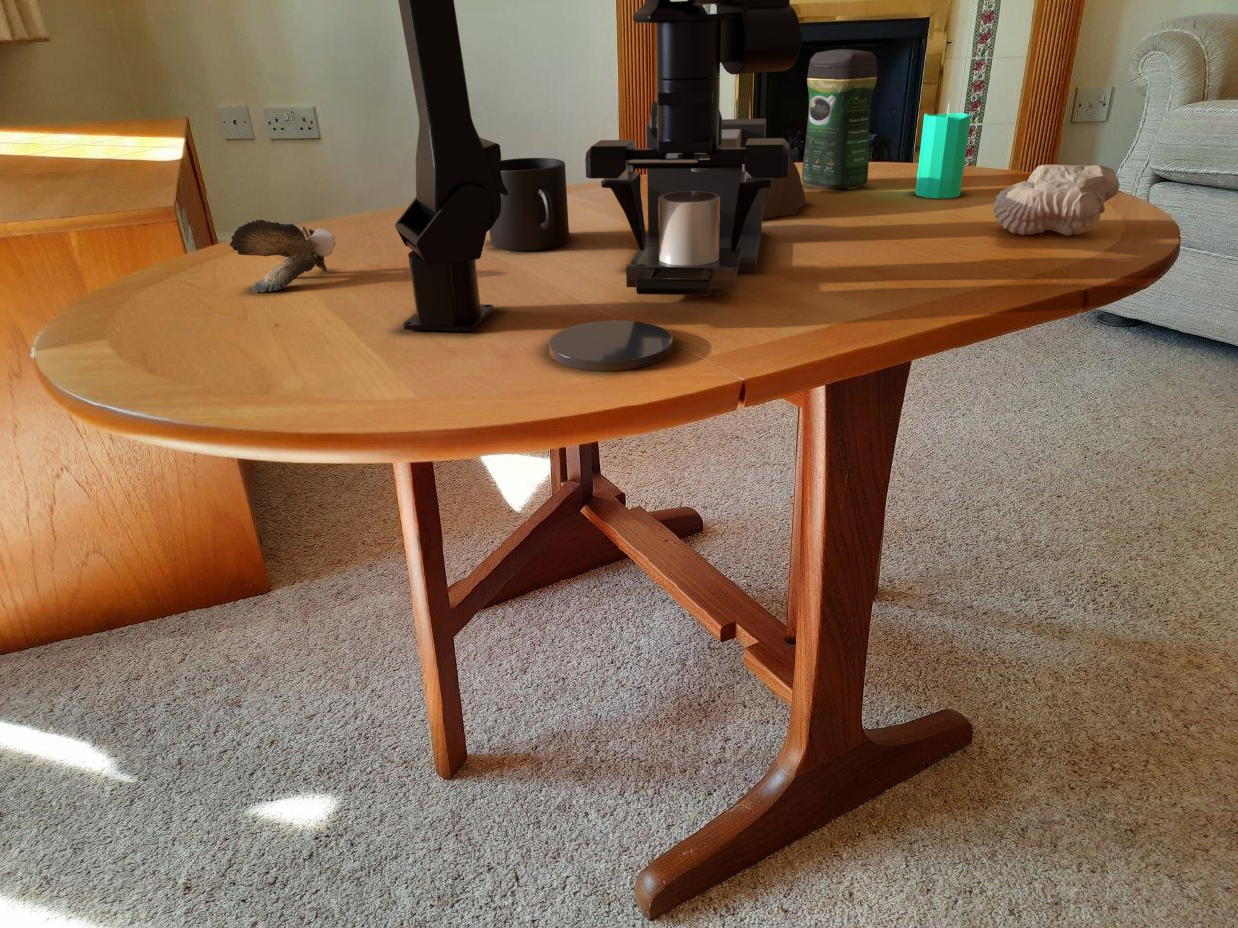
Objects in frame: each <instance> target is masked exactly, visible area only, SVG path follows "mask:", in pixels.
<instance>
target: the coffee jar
mask: <svg viewBox="0 0 1238 928" xmlns="http://www.w3.org/2000/svg"><path fill="white" fill-rule="evenodd" d="M877 65H878V62H877V57H876V56H875V54H874V53H873V51H867V50H858V49H848V48H847V49H846V48H845V49H844V48H842V49H831V50H824V51H823V50H822V51H819V52H815V53H814V54H813V56H812V57H811V58H810V59H809V64H808V71H807V79H806V82H807V83H806V84H807V90H808V116H807V124H806V135H805V146H804V153H803V159H802V169H801V182H802V184H804V185H808V186H811V187H814V188H819V189H825V190H826V189H827V190H836V189H846V190H855V189H858V188H860V187H862V186H864V185H866V184H867V183H868V179H869V165H870V163H869V162H870V161H869V160H870V159H869V158H870V154H869V151H870V125H871V124H870V122H871V120H870V119H871V106H872V99H873V94H874V90H875V87H876V84H877V78H878V69H877V67H878V66H877Z"/></svg>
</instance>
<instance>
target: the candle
mask: <svg viewBox="0 0 1238 928" xmlns="http://www.w3.org/2000/svg"><path fill="white" fill-rule="evenodd" d="M947 105H948V106H947V111H946V112H947V113H946V112H945V113H939V114H938V113H937V114H929V113H924V115H923V123H922V132H921V140H920V150H919V158H918V166H917V175H916V183H915V192H914V194H915V195H916V196H918V197H922V198H928V199H951V198H957V197H959V196H961V191H962V185H963V179H964V171H965V164H966V156H967V149H968V142H969V133H970V126H971V121H972V120H971V119H972V116H971V115H970V114H969V113H968V112H967V113H966V112H964V113H963V112H962V113H961V112H957V113H956V112H955V113H954V112H953V113H951V112H950V105H951V102H948V104H947Z"/></svg>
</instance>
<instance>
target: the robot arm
mask: <svg viewBox="0 0 1238 928" xmlns="http://www.w3.org/2000/svg"><path fill="white" fill-rule="evenodd" d="M397 1H398V8H399V12H400V19H401V24H402V29H403V37H404V41H405V47H406V53H407V59H408V64H409V69H410V76H411V81H412V86H413V91H414V98H415V102H416V103H415V104H416V110H417V115H418V127H419V128H418V135H417V143H416V153H415V194H416V195H415V198H413V200H412V201H411V203H410V204H409V205H408V206H407V208H406V209H405V210H404V211H403V213H402V215H401V216H400V217H399V218H398V219H397V221H396V222H395V225H394V228H395V230H396V231H397V233H398V236H399V237H400V239H401V241H402V243H403V245H404V246H405V247H407V248H409V249H410V250H411V251H410V252H408V254H407V257H408V264H409V270H410V277H411V284H412V292H413V299H414V307H415V313H413V314H412V315H411V316H410V317H409V318H408V319H407V320H405V321H404V322H403V323H402V327H403V328H402V329H403V330H406V331H407V330H409V331H440V332H441V331H442V332H443V331H444V332H445V331H447V332H472V331H474V330H476V329H477V328H478V326H479V325H481V324H482V323H483V322H484V320H485V319H486V318H487V317H488V316H490V315H491V313H493V312H494V310H495V309H494V305H493V304H485V303H483V304H482V303H481V298H480V290H479V289H480V288H479V280H478V271H477V262H476V260H480V259H481V257H482V253H483V249H484V245H485V240H486V237H487V233H488V232H490V231H489V230H490V229H491V228H492V226H493V225H494V223H495V222H496V220H497V219H499V217H500V213H501V196H500V193H501V194H503V195H508V191H507V189H506V188H505V186H504V184H503V180H502V176H501V160H502V151H501V145H500V144H499V143H497V142H494V141H491V140H488V139H485V138H482V137H480V136H479V134H478V131H477V129H476V126H475V124H474V121H473V118H472V112H471V106H470V100H469V99H470V98H469V93H468V85H467V78H466V71H465V67H464V59H463V53H462V46H461V39H460V33H459V26H458V20H457V13H456V7H455V6H456V5H455V0H397ZM705 5H715V6H716V7H715V8H716V13H708V12H707V10H706V7H704V6H705ZM632 21H633V23H635V24H655V42H656V43H655V44H656V48H655V49H656V101H652V102H651V107H650V116H649V123H650V133H651V135H652V137H653V138H654V139H657V143H658V148H647V147H645V148H637V146H636V141H635V139H600V140H599V141H597V142H596V143H594V144H593V145H591V146H590V147H589V148H588V150H587V151H586V152H585V159H584V160H585V161H584V162H585V178H586V179H594V180H597V179H602V180H601V182H600V184H601V185H600V186H601V188H603V189H610V190H611V191H612V193H613V195H614V196H615V198H616V200H617V202H618V204H619V205H620V208H621V209H622V211H623V213H624V215H625V217H626V220H627V222H628V224H629V227H630V229H631V232H632V235H633V237H634V239H635V241H636V244H637V246H638V250H639V249H640V251H644V249H645V239H646V225H645V218H644V217H645V216H644V209H643V201H642V200H643V199H642V189H641V187H642V185H641V184H642V182H641V176H642V175H641V171H636V170H637V169H638V170H647V169H691V168H742V172H743V174H742V176H741V179H740V182H739V189H738V196H737V203H736V209H735V216H734V222H733V229H732V236H731V251H732V252H735V251H736V248H737V245H738V242H739V239H740V236H741V233H742V230H743V227H744V224H745V220H746V218H747V215H748V213H749V210H750V208H751V206H752V204H753V202H754V200H755V198H756V196H757V194H758V192H759V190H760V189H761V188H769V187H771V186H772V180H773V178H784V177H788V164H789V157H790V143H789V142H788V141H787V140H786V139H785V138H784V137H773V138H772V137H771V138H769V137H768V138H767V137H766V138H757V139H748V140H747V143H746V147H745V148H719V145H721V144H722V119H723V116H722V114H721V113H722V112H721V110H720V95H721V94H720V93H721V91H720V89H721V65H722V67H723V70H725V71H726V73H728V74H730V75H746V74H759V73H775V72H776V73H777V72H786V71H788V70H790V69H791V68H792V67H793V66H795V64H796V62H797V60H798V58H799V55H800V52H801V48H802V42H803V30H802V29H801V24H800V20H799V17H798V14H797V12H796V11H795V8H794V7H793V6H792V5H791V0H674V1H673V0H646V1H644V3H643V5H642V6H640V8H639V9H638V10H637V11H636V12H635V13H634V14H633V16H632ZM667 153H682V154H678V155H677V158H667ZM694 153H706V154H694ZM700 158H702V159H704V158H707V159H709V158H710V160H699V159H700Z"/></svg>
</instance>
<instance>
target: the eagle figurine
mask: <svg viewBox="0 0 1238 928" xmlns="http://www.w3.org/2000/svg"><path fill="white" fill-rule="evenodd" d="M230 239H231V241H230V242H229V243H228V244H229V246H230V247H231V249H232V251H235V252H236V253H237V255H240V256H257V257H271V256H280V257H284V261H282V262H280V263H279V264H277V265H276V266H275V267H273V268H271V269H270V271H268V272H267V274H266V275H265V276H264V277H263V278H261V279H260V280H258V281H257V282H255V283H254V284H253V286H252V292H254V293H265V292H268V291H269V293H270V292H271V293H272V292H274V291H278V290H281V289H283V288H285V287H287V286H288V285H290V284H292V282H293V281H295V280H296V279H297V278H298V277H299V276H301V275H303V274H304V273H308V272H311V271H312V270H313V269H314V268H315V267H316V268H319V270H321V272H323V273H328V269H327V266H326V263H325V257H329V256H331V254H333V251H334V248H335V246H336V236H335V234H334V233H333V232H332V231H330V230H329V229H327V228H325V227H318V228H316V229H315V230H313V229H311V228H308V229H306V227H305V226H304V225H302V226H301V228H299V227H298V226H296V225H295V224H293V223H279V222H271V221H270V220H269V221H266V220H264V219H255V221H254V220H251V221H250V222H246V223H244V224H242V225H241V226H238V227H237V229H236V230H234V231H233V234H232V235H231V237H230Z"/></svg>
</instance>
